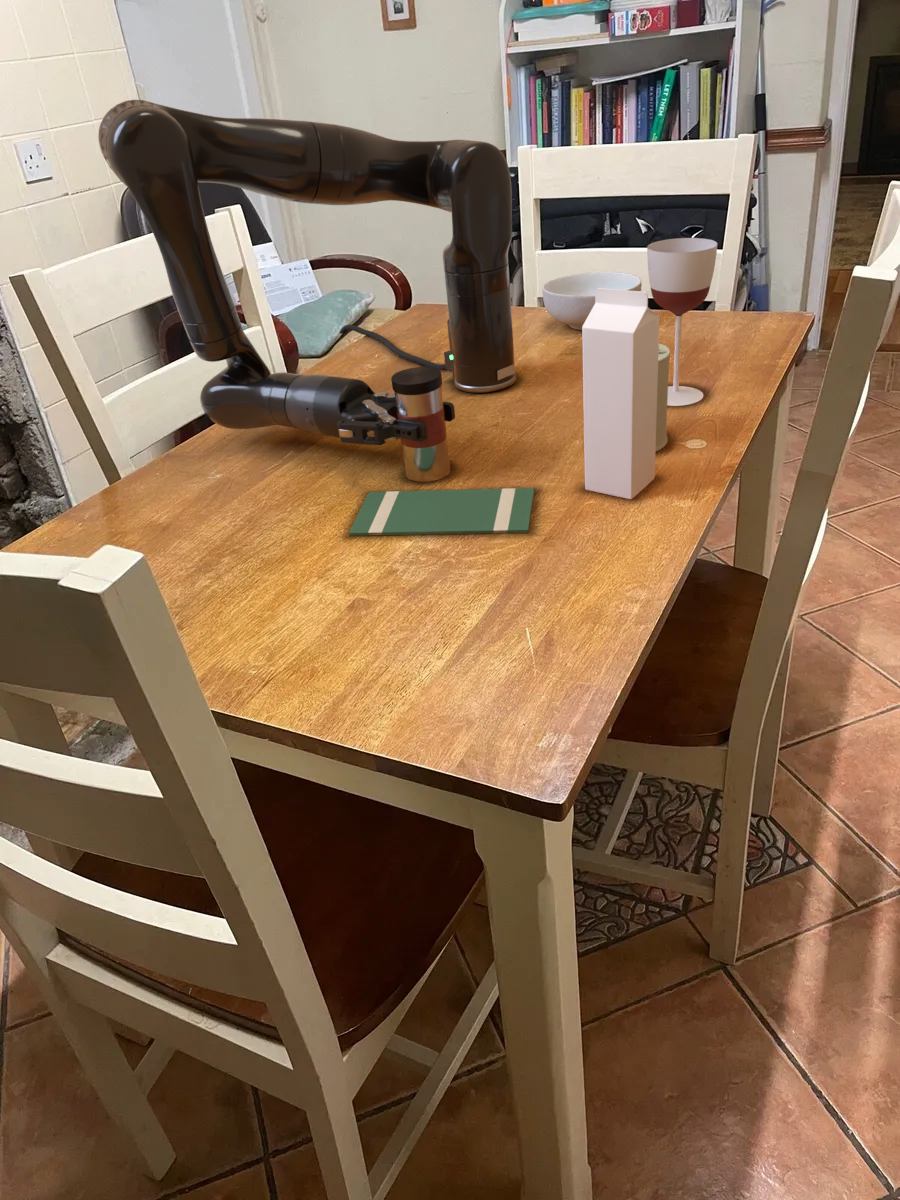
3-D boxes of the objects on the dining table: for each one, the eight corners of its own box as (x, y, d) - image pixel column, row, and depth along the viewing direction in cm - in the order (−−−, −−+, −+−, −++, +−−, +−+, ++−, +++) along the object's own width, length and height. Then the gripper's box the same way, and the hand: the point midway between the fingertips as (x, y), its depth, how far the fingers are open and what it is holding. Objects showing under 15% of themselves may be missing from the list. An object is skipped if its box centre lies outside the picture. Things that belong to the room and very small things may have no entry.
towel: (369, 494, 105) (368, 491, 105) (534, 490, 102) (534, 487, 102) (349, 535, 97) (348, 532, 97) (528, 533, 94) (528, 529, 94)
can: (667, 456, 106) (671, 359, 99) (591, 457, 108) (589, 362, 101) (667, 426, 113) (670, 334, 107) (595, 427, 115) (594, 337, 109)
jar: (396, 472, 110) (382, 376, 103) (435, 458, 112) (424, 363, 106) (420, 487, 106) (407, 388, 99) (460, 472, 108) (450, 374, 101)
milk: (609, 470, 105) (608, 280, 93) (655, 479, 101) (661, 283, 89) (583, 490, 101) (580, 295, 89) (631, 500, 97) (634, 299, 85)
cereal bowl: (659, 316, 153) (660, 274, 149) (605, 344, 144) (604, 300, 140) (580, 305, 163) (579, 266, 160) (524, 331, 154) (522, 290, 150)
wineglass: (696, 409, 117) (705, 253, 106) (635, 402, 121) (637, 251, 110) (715, 388, 122) (725, 238, 111) (655, 382, 127) (660, 237, 116)
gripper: (287, 398, 105) (401, 414, 97) (358, 359, 115) (467, 371, 107) (299, 455, 109) (409, 475, 101) (367, 413, 119) (472, 428, 111)
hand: (438, 421), depth 104 cm, fingers closed on jar, 5 cm apart
